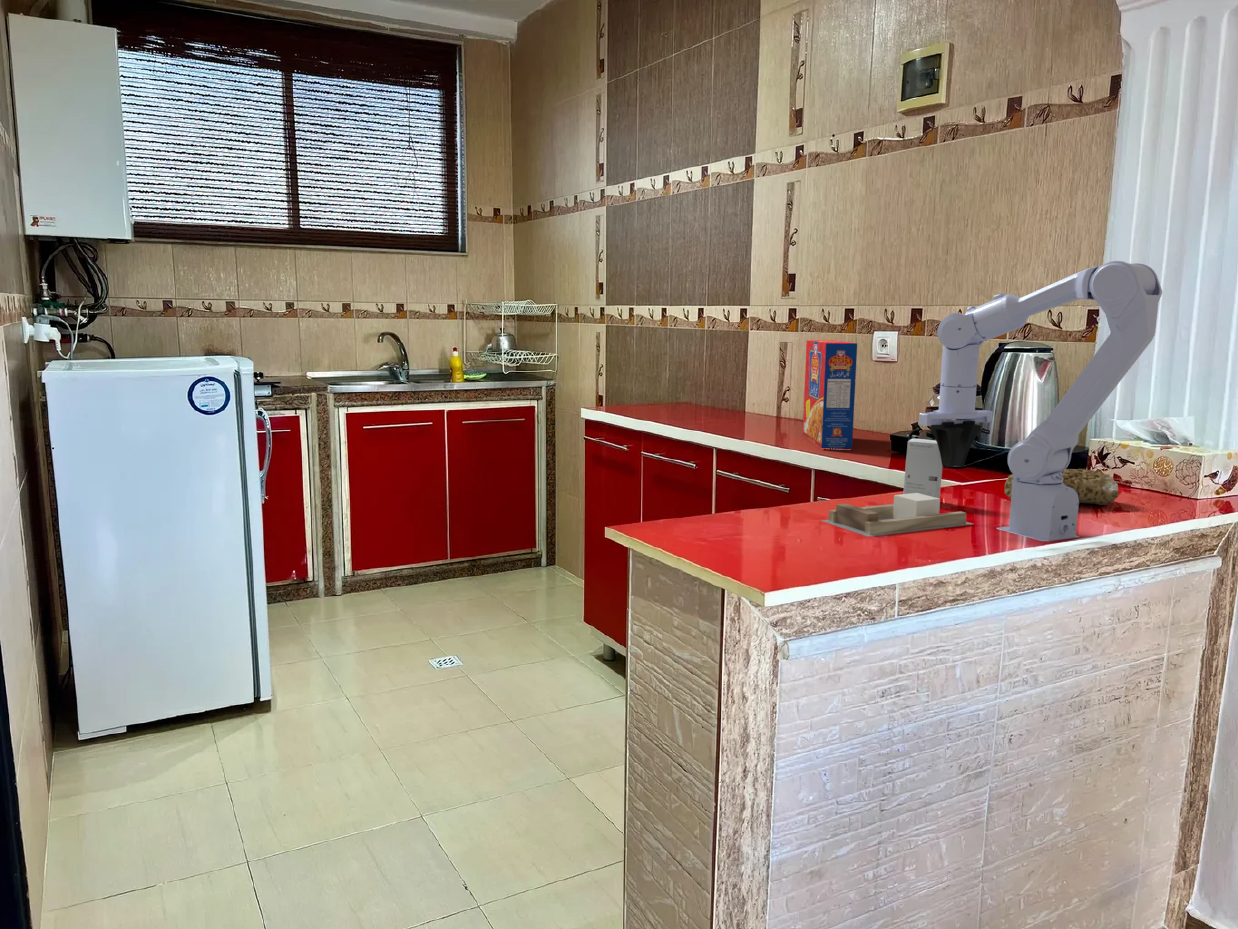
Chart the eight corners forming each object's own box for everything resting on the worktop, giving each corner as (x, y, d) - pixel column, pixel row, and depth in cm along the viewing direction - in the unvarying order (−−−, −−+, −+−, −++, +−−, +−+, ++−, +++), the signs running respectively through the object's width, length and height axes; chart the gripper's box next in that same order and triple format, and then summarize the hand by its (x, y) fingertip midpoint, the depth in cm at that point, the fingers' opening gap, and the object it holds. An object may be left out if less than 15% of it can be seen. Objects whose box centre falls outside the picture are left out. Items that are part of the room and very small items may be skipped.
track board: (973, 527, 147) (973, 523, 147) (867, 540, 138) (868, 536, 138) (921, 512, 158) (922, 509, 158) (820, 523, 149) (820, 520, 149)
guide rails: (965, 523, 147) (966, 505, 147) (869, 534, 139) (870, 516, 139) (920, 511, 157) (922, 494, 156) (828, 520, 149) (829, 503, 148)
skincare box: (901, 505, 164) (905, 440, 162) (906, 501, 168) (910, 437, 166) (936, 509, 161) (940, 443, 159) (940, 504, 165) (945, 440, 163)
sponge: (1095, 505, 172) (991, 480, 175) (1110, 468, 170) (1004, 444, 172) (1115, 532, 160) (1003, 505, 163) (1132, 493, 157) (1017, 466, 160)
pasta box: (802, 436, 260) (806, 340, 256) (830, 436, 260) (834, 340, 256) (821, 450, 233) (826, 343, 228) (851, 450, 233) (857, 343, 228)
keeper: (938, 522, 148) (940, 498, 148) (915, 524, 146) (916, 501, 146) (915, 515, 153) (917, 492, 152) (892, 518, 151) (894, 495, 150)
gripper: (972, 383, 156) (966, 459, 158) (907, 385, 150) (903, 464, 152) (1004, 386, 149) (998, 465, 151) (938, 388, 143) (933, 471, 146)
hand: (952, 465), depth 151 cm, fingers closed
